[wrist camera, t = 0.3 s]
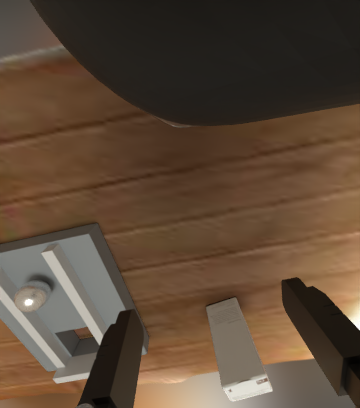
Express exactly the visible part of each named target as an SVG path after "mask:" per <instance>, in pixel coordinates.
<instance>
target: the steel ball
mask: <svg viewBox="0 0 360 408" xmlns="http://www.w3.org/2000/svg"><path fill="white" fill-rule="evenodd" d="M50 295H51V288H50V286H49V284H48V283H47V282H45V281H42V280H33V281H29V282H27V283H25V284H24V285H22V286H21V287H20V288H19V289H18V291H17V292H16V294H15V297H14V303H15V306H16V307H17V309H19V310H20V311H23V312H32V311H36V310H38V309H40V308H41V307H43V306H44V305H45V304H46V303H47V301H48V300H49V298H50Z"/></svg>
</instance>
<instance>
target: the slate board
mask: <svg viewBox="0 0 360 408" xmlns="http://www.w3.org/2000/svg"><path fill="white" fill-rule="evenodd" d="M33 280H42V281H45V282H47V283H48V284H49V286H50V288H51V295H50V298H49V300H48V301H47V303H46V304H45V305H44V306H43V307H41V308H40V309H38V310H36V311H32V312H23V311H20V310H19V309H17V307H16V306H15V303H14V297H15V294H16V292H17V291H18V289H19V288H20V287H21V286H22V285H24V284H25V283H27V282H29V281H33ZM129 309H135V310H136V313H137V315H138V317H139V320H140V322H141V324H142V326H143V330H144V342H143V348H142V354H141V355H144V354H147V351H148V343H149V336H148V334H147V331H146V329H145V327H144V325H143V323H142V320H141V318H140V316H139V314H138V312H137V309H136V307H135V305H134V303H133V300H132V298H131V296H130V294H129V292H128V289H127V287H126V285H125V283H124V281H123V278H122V276H121V274H120V272H119V270H118V267H117V265H116V263H115V261H114V259H113V256H112V254H111V252H110V250H109V248H108V245H107V243H106V241H105V239H104V236H103V234H102V232H101V230H100V228H99V225H98V223H95V224H90V225H86V226H81V227H77V228H72V229H68V230H63V231H58V232H54V233H49V234H45V235H40V236H36V237H31V238H27V239H22V240H18V241H13V242H9V243H4V244H0V319H1V320H2V321H3V322H4V323H5V324H6V325H7V326H8V328H9V329H10V330H11V331H12V332H13V333H14V334H15V335H16V337H17V338H18V339H19V340H20V341H21V342H22V343H23V344H24V346H25V347H26V348H27V349H28V350H29V351H30V352H31V353H32V355H33V356H34V357H35V358H36V359H37V360H38V361H39V362H40V364H41V365H42V366H43V367H44V368H45V369H46V370H47V371H54V370H57V371H56V373H55V375H54V377H53V380H54V381H55V382H56V383H63V382H68V381H74V380H80V379H86V378H88V377H89V374H90V371H91V368H92V366H93V363H94V360H95V359H96V355H97V352H98V349H99V348H100V347H99V346H100V343H101V341H102V338H103V335H104V334H105V332H106V331H107V329H108V328H109V326H110V325H111V324H115V323H116V320H117V317H118V314H119V312H120V311H124V310H129ZM83 327H88V328H89V330H90V331H91V333H92V334H93V336H94V337H92V338H87V339H81V340H80V339H79V338H78V336H77V335H76V333H75V332H74V330H73V329H78V328H83Z"/></svg>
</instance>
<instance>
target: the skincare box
mask: <svg viewBox="0 0 360 408" xmlns="http://www.w3.org/2000/svg"><path fill="white" fill-rule="evenodd" d="M206 310H207V315H208V320H209V325H210V330H211V335H212V340H213V345H214V350H215V355H216V360H217V365H218V369H219V374H220V379H221V385H222V388H223V390H224V391H225V393H226V395H227V396H228V398H229V399H230V401H231V402H233V401H237V400H241V399H245V398H248V397H252V396H256V395H260V394H263V393H267V392H271V391H273V389H272V386H271V384H270V381H269V379H268V376H267V373H266V371H265V369H264V366H263V364H262V361H261V359H260V356H259V354H258V351H257V349H256V346H255V344H254V341H253V339H252V336H251V334H250V331H249V329H248V326H247V324H246V321H245V319H244V316H243V314H242V311H241V309H240V306H239V304H238V301H237V299H236V297H234V298H231V299H228V300H225V301H222V302H219V303H216V304H213V305H210V306H207V307H206Z"/></svg>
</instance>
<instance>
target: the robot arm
mask: <svg viewBox="0 0 360 408" xmlns="http://www.w3.org/2000/svg"><path fill="white" fill-rule="evenodd" d="M30 1H31V3H32V4H33V6H34V7H35V9H36V11H37V12H38V13H39V15H40V17H41V18H42V19H43V21H44V22H45V23H46V24H47V25H48V27H49V28H50V29H51V31H52V32H53V33H54V34H55V36H56V37H57V38H58V39H59V41H60V42H61V43H62V44H63V46H64V47H65V48H66V49H67V50H68V51H69V52H70V53H71V54H72V55H73V56H74V57H75V58H76V59H77V61H78V62H79V63H80V64H81V65H82V66H83V67H85V68H86V69H87V70H88V71H89V72H90V73H91V74H92V75H93V76H94V77H95V78H97V79H98V80H99V81H100V82H102V83H103V84H104V85H105V86H107V87H108V88H109V89H111V90H112V91H113V92H114V93H116V94H117V95H118V96H120V97H122V98H123V99H125V100H126V101H128V102H129V103H131V104H132V105H134V106H136V107H138V108H139V109H141V110H143V111H145V112H147V113H148V114H150V115H152V116H154V117H156V118H158V119H159V120H161V121H163V122H165V123H166V124H169V125H172V126H174V127H193V126H217V125H235V124H243V123H249V122H256V121H262V120H268V119H273V118H279V117H285V116H291V115H296V114H302V113H308V112H314V111H319V110H325V109H331V108H337V107H343V106H349V105H354V104H360V0H30ZM282 301H283V306H284V308H285V311H286V313H287V315H288V316H289V318H290V319H291V321H292V323H293V324H294V326H295V327H296V329H297V331H298V332H299V334H300V335H301V337H302V339H303V340H304V342H305V343H306V345H307V347H308V348H309V350H310V351H311V353H312V355H313V356H314V358H315V359H316V361H317V362H318V364H319V366H320V367H321V369H322V371H323V372H324V374H325V375H326V377H327V379H328V380H329V382H330V383H331V385H332V387H333V388H334V390H335V391H336V393H337V395H338V396H342V395H349V396H350V398H351V400H352V401H353V403H354V404H355V408H360V330H359V329H358V328H357V327H356V326H355V325H354V324H353V323H352V322H351V321H350V320H349V319H348V318H347V317H346V315H345V314H343V313H342V311H341V310H340V309H339V308H338V307H337V306H335V304H334V303H333V302H332V301H331V300H330V299H329V297H328V296H327V295H326V294H325V293H323V292H321V291H320V290H318V289H317V288H315V287H313V286H311V287H306V286H305V284H304V283H303V282H302V281H301V280H300V279H299V278H297V277H296V278H291V279H285V280H282ZM143 342H144V330H143V326H142V324H141V322H140V320H139V317H138V315H137V313H136V310H135V309H129V310H124V311H120V312H119V314H118V317H117V320H116V323H115V324H111V325H110V326H109V328H108V329H107V331H106V332H105V334H104V335H103V338H102V341H101V343H100V346H99V347H100V348H99V349H98V352H97V355H96V359H95V360H94V363H93V366H92V368H91V371H90V374H89V377H88V380H87V382H86V385H85V388H84V391H83V393H82V396H81V399H80V401H79V403H78V405H77V407H76V408H133V405H134V399H135V393H136V386H137V380H138V374H139V367H140V361H141V354H142V348H143Z"/></svg>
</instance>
